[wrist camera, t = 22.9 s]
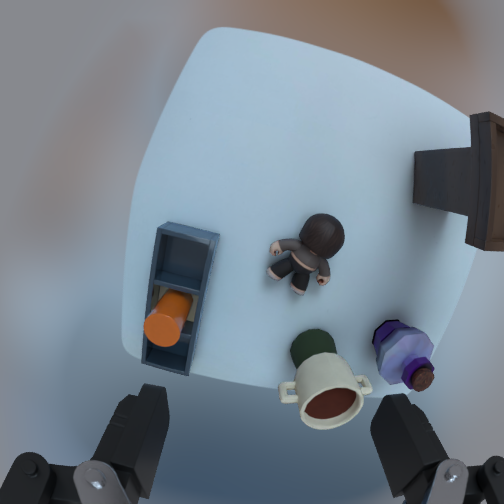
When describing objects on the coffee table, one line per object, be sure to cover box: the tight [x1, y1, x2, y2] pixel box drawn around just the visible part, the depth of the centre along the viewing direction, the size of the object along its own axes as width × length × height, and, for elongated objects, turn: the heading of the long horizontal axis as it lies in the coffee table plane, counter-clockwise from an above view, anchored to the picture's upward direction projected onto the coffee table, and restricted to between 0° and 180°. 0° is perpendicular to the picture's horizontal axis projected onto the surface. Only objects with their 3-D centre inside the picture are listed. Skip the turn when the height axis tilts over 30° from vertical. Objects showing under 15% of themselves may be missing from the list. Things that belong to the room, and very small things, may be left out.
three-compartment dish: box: [141, 222, 220, 376], centre depth 35 cm, size 7×19×4 cm, turn 166°
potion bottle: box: [372, 319, 434, 392], centre depth 33 cm, size 9×9×12 cm
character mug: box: [278, 329, 373, 430], centre depth 33 cm, size 11×7×13 cm, turn 91°
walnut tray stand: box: [413, 112, 504, 252], centre depth 24 cm, size 14×11×18 cm
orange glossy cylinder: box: [144, 288, 193, 347], centre depth 32 cm, size 4×4×8 cm
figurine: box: [266, 214, 345, 295], centre depth 33 cm, size 8×5×10 cm
